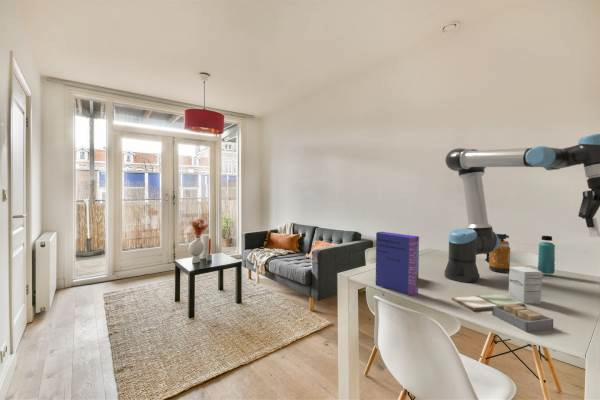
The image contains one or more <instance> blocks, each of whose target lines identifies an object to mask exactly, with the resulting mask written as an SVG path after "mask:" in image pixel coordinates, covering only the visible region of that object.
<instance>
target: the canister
mask: <svg viewBox="0 0 600 400" xmlns="http://www.w3.org/2000/svg"><path fill="white" fill-rule="evenodd" d="M496 234H497V236H498V238H499V245H498V247H497V249H496V250H495V251H493V252H490V253H488V254H486V258H485V259H484V261H485V262H487V263H488V269H489V270H492V271H493V272H496V273H509V271H510V267H511V247H510V243H509V241H507V239H509V238H510V236H509V235H507V234H506V233H504V234H503V233H502V234H501V233H496Z"/></svg>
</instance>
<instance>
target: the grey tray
mask: <svg viewBox="0 0 600 400" xmlns="http://www.w3.org/2000/svg"><path fill="white" fill-rule="evenodd" d="M516 305H518V304H516ZM518 306H520V305H518ZM521 307H523V306H521ZM523 308H525V310H530V311H533V312H535V313H537V314H540V315H541V320H535V321H525V320H522V319H520V318H518V317H516V316H514V315H512V314H509V313H507V312H505V311H504V305H501V306H493V307H492V310H491V311H492V316H493V317H495V318H497V319H499V320H501V321H504V322H505V323H507V324H509V325H511V326H513V327H515V328H517V329H519V330H521V331H523V332H525V333H531V332H540V331H541V332H542V331H548V330H554V318H551V317H550V316H549V317H548V316H547V315H544V314H543V313H542V314H541V313H539V312H536V311H535V310H532V309H530V308H528V307H526V306H525V307H523Z"/></svg>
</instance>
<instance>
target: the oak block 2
mask: <svg viewBox="0 0 600 400" xmlns="http://www.w3.org/2000/svg"><path fill="white" fill-rule="evenodd" d="M530 310H531V309H530ZM530 310H519V311H518V318H520V319H522V320H525V321H535V320H541V315H540V314H541V313H539V314H537V313H538V312H537V313H535V312H536V311H535V312H533V311H534V310H532V311H530Z"/></svg>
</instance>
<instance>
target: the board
mask: <svg viewBox="0 0 600 400" xmlns="http://www.w3.org/2000/svg"><path fill="white" fill-rule="evenodd" d="M451 301H453V302H455V303H457V304H458V305H461V306H463V307H464V308H467V309H468V310H470V311H472V312H474V313H475V312H485V311H492V307H493V306H501V305H504V304H518V305H520V306H523V307H525V308H526V303H525V304H524V303H521V302H519V301H517V300H515V299H513V298H511V297H508V296H505V295H502V294H500V293H494V294H481V295H471V296H470V295H469V296H460V297H459V296H457V297H451Z"/></svg>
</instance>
